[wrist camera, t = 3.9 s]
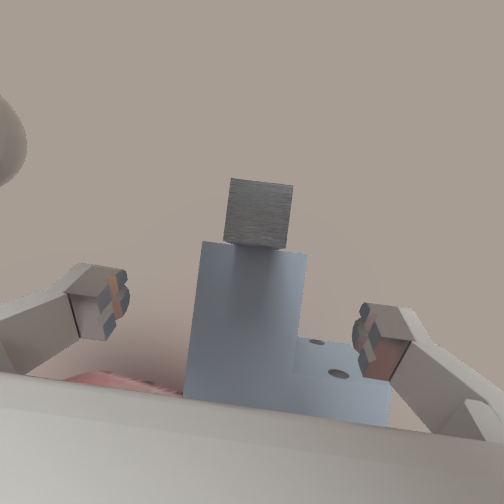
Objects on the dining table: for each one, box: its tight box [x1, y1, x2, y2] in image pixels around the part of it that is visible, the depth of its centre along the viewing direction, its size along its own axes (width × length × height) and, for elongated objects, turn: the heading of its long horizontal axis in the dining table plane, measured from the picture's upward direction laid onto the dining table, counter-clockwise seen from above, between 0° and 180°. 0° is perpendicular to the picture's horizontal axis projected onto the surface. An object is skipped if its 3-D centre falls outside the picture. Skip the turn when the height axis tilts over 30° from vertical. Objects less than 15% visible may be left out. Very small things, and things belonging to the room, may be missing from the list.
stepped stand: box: [183, 241, 392, 427], centre depth 27 cm, size 16×10×26 cm, turn 89°
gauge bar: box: [223, 178, 293, 250], centre depth 24 cm, size 4×20×4 cm, turn 179°
